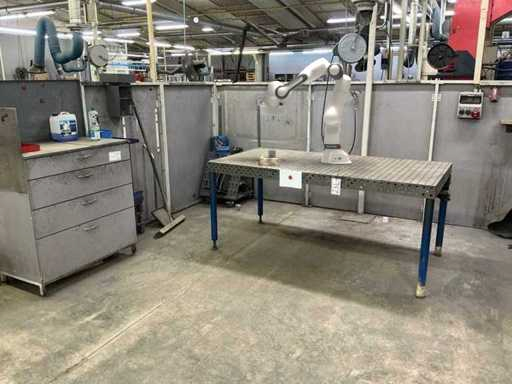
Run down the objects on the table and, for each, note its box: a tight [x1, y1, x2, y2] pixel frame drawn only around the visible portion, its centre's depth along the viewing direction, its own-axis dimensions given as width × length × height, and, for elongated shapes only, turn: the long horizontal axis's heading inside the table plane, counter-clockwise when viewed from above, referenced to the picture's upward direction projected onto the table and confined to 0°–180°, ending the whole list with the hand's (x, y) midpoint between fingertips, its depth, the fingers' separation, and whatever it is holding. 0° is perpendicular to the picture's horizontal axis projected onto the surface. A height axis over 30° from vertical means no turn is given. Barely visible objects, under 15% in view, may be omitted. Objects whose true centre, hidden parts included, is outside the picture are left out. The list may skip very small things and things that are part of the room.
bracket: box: [267, 149, 277, 158], centre depth 290 cm, size 5×8×9 cm, turn 13°
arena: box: [259, 155, 281, 167], centre depth 289 cm, size 14×14×5 cm
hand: (273, 121), depth 303 cm, fingers open, 8 cm apart
